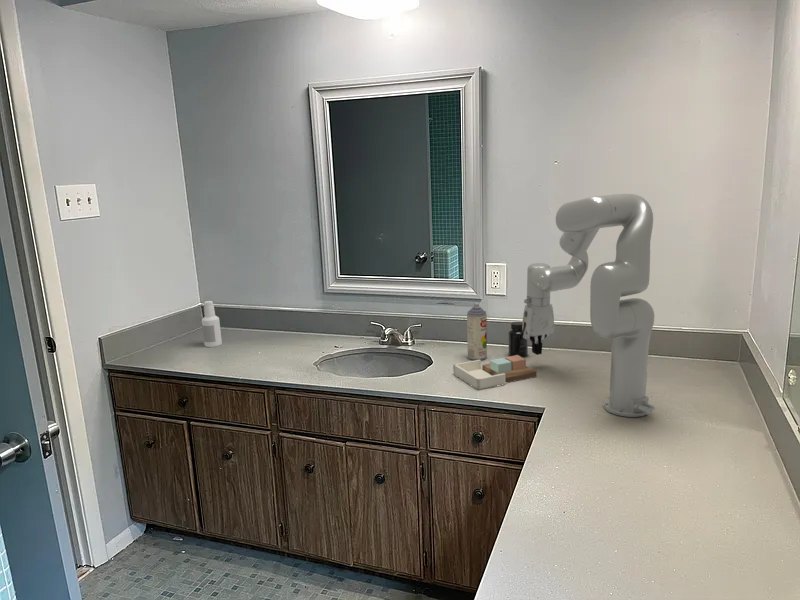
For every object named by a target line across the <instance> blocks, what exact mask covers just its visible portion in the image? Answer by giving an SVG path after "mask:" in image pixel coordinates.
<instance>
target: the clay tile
mask: <svg viewBox="0 0 800 600" xmlns="http://www.w3.org/2000/svg"><path fill="white" fill-rule="evenodd" d="M504 359H506V360H508V361H510V362H511V370H518V369H523V368H526V366H527V358H526V357H520V356H518V355H515V356H504Z"/></svg>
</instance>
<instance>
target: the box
mask: <svg viewBox="0 0 800 600" xmlns="http://www.w3.org/2000/svg"><path fill="white" fill-rule="evenodd" d="M481 363H482V360H475V361H473V360H469V361H466V362H459V363H453V367H452V369H453V375H454V376H455V377H457V378H458V377H459V378H458V379H460V380H461V379H462V381H463V380H464V381H463V382H465V381H466V382H467V383H466V382H465V383H466V384H468V383H469V384H470V385H469V384H468V385H469V386H471V385H472V386H473V388H474V387H475V388H476V389H475V388H474V389H475V390H477V389H478V390H477V391H480V390H479V389H481V390H485V389H484V388H486V389H489V388H488V387H491V388H494V387H493V386H496V387H498V386H497V385H501V386H503V385H502V384H505V385H506V383H505V373H503V374H498V375H493V376H492V375H490V374H489V373H487V372H485V371H483V370H482V364H481ZM472 386H471V387H472Z"/></svg>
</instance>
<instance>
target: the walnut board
mask: <svg viewBox="0 0 800 600" xmlns="http://www.w3.org/2000/svg"><path fill="white" fill-rule="evenodd" d="M481 369H482V370H483V371H485V372H487V373H489V374H490V375H492V376H493V375H498V374H503V373H505V382H508V383H511V382H510V381H513V382H515V381H514V380H518V381H521V380H520V379H523V380H526V379H525V378H528V379H531V378H530V377H532V378H536V377H537V371H536V370H534V369H532V368H531V367H529V366H527V365H526V368H523V369H518V370H511V371H508V372H503V373H497V372H495V371H493V370H491V369H490V363H485V364H481Z"/></svg>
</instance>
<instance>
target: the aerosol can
mask: <svg viewBox="0 0 800 600" xmlns="http://www.w3.org/2000/svg"><path fill="white" fill-rule="evenodd" d="M473 304H474V305H473V306H472V308H470V310H469V311H467V313H466V326H467V327H466V331H467V332H466V334H467V338H466V339H467V340H466V341H467V359H468V360H469V361H475V360H481V361H485V360H487V359H488V357H487V356H488V354H487V353H488V345H487V344H488V340H487V339H488V336H487V335H488V334H487V333H488V332H487V331H488V330H487V327H488V326H487V323H488V320H487V319H488V318H487V311H485V310H484V309H483V308H482V307H481V306H480V303H478V302H477V303H473Z"/></svg>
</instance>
